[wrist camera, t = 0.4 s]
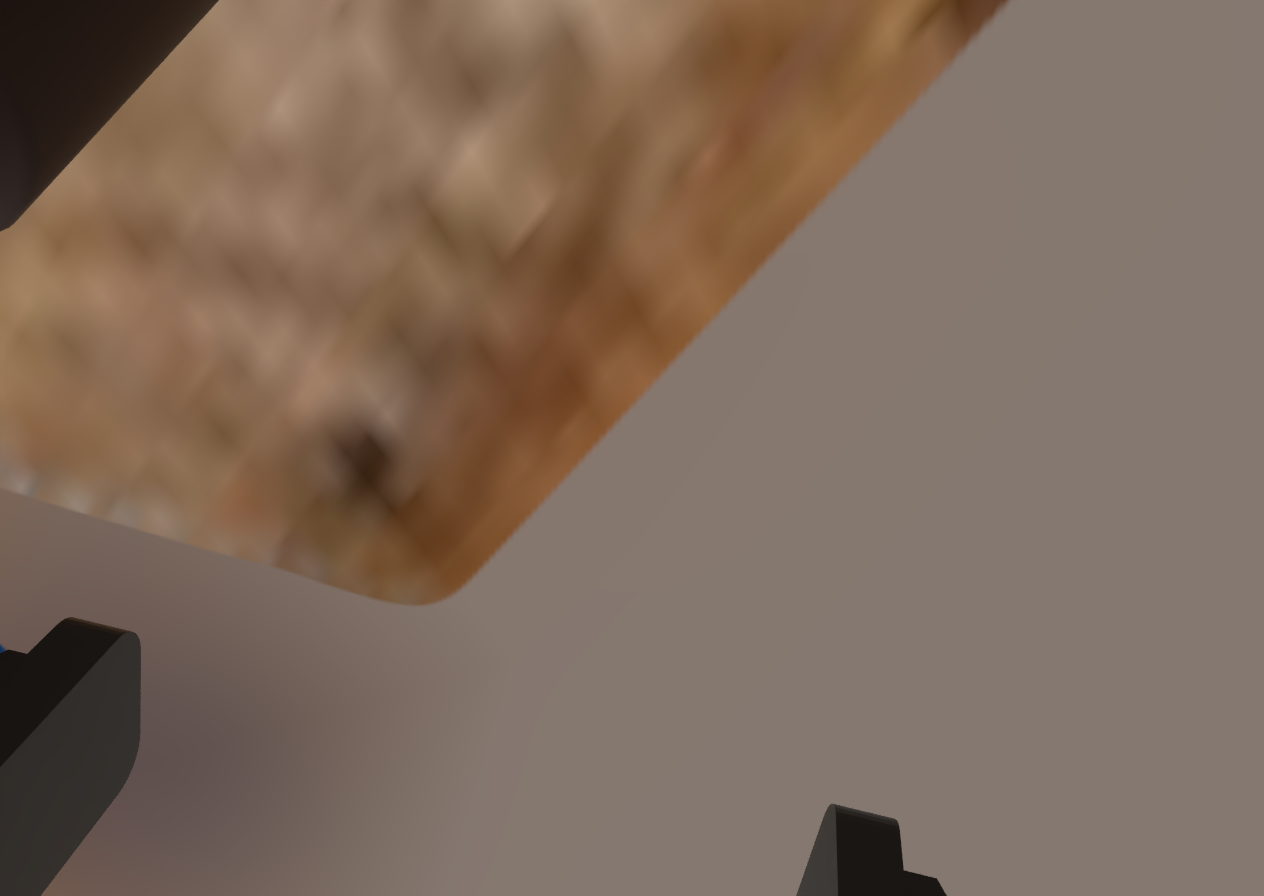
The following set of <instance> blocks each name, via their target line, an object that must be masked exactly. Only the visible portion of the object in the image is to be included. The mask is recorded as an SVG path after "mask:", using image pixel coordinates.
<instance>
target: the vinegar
mask: <svg viewBox="0 0 1264 896" xmlns="http://www.w3.org/2000/svg"><path fill="white" fill-rule="evenodd" d="M218 1H219V0H0V231H2V230H4V229H7V228H9V227H10V226H11V225H13V224H14V223H15V222H16V221H17V220H18V218H19V217H20V216H21V215H22V214H23V213H24V212H25V211H26V210H27V209H28V208H29V206H30V205H31V204H32V203H33V202H34V201H35V200H36V199H37V198H38V197H39V196H40V194H41V193H42V192H43V191H44V190H45V189H46V188H47V187H48V186H49V185H50V184H51V183H52V181H53V180H54V179H55V178H56V177H57V176H58V175H59V174H60V173H61V172H62V171H63V169H64V168H65V167H66V166H67V165H68V164H69V163H70V162H71V161H72V160H73V159H74V157H75V156H76V155H77V154H78V153H79V152H80V151H81V150H82V149H83V148H84V147H85V145H86V144H87V143H88V142H89V141H90V140H91V139H92V138H93V137H94V136H95V135H96V134H97V132H98V131H99V130H100V129H101V128H102V127H103V126H104V125H105V124H106V123H107V122H108V120H109V119H110V118H111V117H112V116H113V115H114V114H115V113H116V112H117V111H118V110H119V108H120V107H121V106H122V105H123V104H124V103H125V102H126V101H127V100H128V99H129V98H130V96H131V95H132V94H133V93H134V92H135V91H136V90H137V89H138V88H139V87H140V86H141V85H142V83H143V82H144V81H145V80H146V79H147V78H148V77H149V76H150V75H151V74H152V73H153V71H154V70H155V69H156V68H157V67H158V66H159V65H160V64H161V63H162V62H163V61H164V59H165V58H166V57H167V56H168V55H169V54H170V53H171V52H172V51H173V50H174V49H175V48H176V46H177V45H178V44H179V43H180V42H181V41H182V40H183V39H184V38H185V37H186V36H187V34H188V33H189V32H190V31H191V30H192V29H193V28H194V27H195V26H196V25H197V24H198V22H199V21H200V20H201V19H202V18H203V17H204V16H205V15H206V14H207V13H208V12H209V10H210V9H211V8H212V7H213V6H214V5H215V4H216V3H217V2H218Z"/></svg>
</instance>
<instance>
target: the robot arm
mask: <svg viewBox="0 0 1264 896" xmlns="http://www.w3.org/2000/svg"><path fill="white" fill-rule="evenodd" d="M140 648H141V647H140V640H139V638H138V636H137V634H136V633H134V632H131V631H127V630H123V629H119V628H115V627H110V626H107V625H102V624H98V623H94V622H90V621H86V620H81V619H78V618H73V617H70V618H67V619H64V620H63V621H61V622H60V623H59V624H58V625H56V626H55V627H54V628H53V629H52V630H51V631H50V632H49V633H48V634H47V635H46V636H45V637H44V638H43V639H42V640H41V641H40V642H39V643H38V644H37V645H36V646H35V647H34V648H33V649H32V650H31V651H30V652H29V653H28V654H25V653H21V652H16V651H12V650H6V651H4V652H2V653H0V896H41V895H42V893H43V892H44V891H45V889H46V888H47V887H48V885H49V884H50V883H51V881H52V880H53V879H54V877H55V876H56V875H57V873H58V872H59V871H60V869H61V868H62V867H63V865H64V864H65V863H66V862H67V860H68V859H69V858H70V856H71V855H72V853H74V851H75V850H76V849H77V847H78V846H79V845H80V843H81V842H82V841H83V839H84V838H85V837H86V835H87V834H88V833H89V832H90V830H91V829H92V828H93V826H94V825H95V824H96V822H97V821H98V820H99V818H100V817H101V816H102V814H103V813H104V812H105V811H106V809H107V808H108V806H109V805H110V804H111V802H112V801H113V800H114V799H115V797H116V796H117V795H118V793H119V792H120V791H121V789H122V788H123V786H124V784H125V783H126V780H127V779H128V777H129V774H130V772H131V770H132V768H133V765H134V762H135V758H136V755H137V752H138V747H139V741H140V683H141V682H140V680H141V649H140ZM796 896H947V895H946V894H945V892H944V891H943V889H942V887H941V885H940V883H939V882H938V880H937V878H933V877H928V876H924V875H920V874H916V873H912V872H908V871H904V870H903V859H902V848H901V838H900V829H899V824H898V822H897V820H895V819H893V818H889V817H885V816H881V815H877V814H873V813H869V812H864V811H860V810H856V809H852V808H848V807H844V806H840V805H836V804H830V805H829V807H828V809H827V810H826V813H825V815H824V818H823V820H822V823H821V826H820V829H819V832H818V835H817V838H816V841H815V844H814V846H813V849H812V852H811V855H810V858H809V861H808V864H807V867H806V869H805V872H804V875H803V878H802V881H801V884H800V887H799V890H798V893H797V895H796Z"/></svg>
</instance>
